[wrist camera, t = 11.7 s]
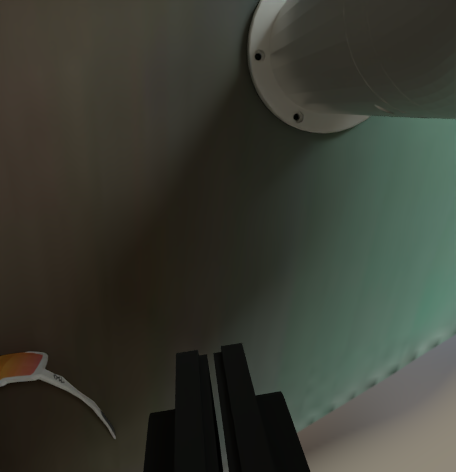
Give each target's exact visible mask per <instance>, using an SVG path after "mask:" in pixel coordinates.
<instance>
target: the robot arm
mask: <svg viewBox="0 0 456 472" xmlns="http://www.w3.org/2000/svg"><path fill="white" fill-rule="evenodd" d="M255 54H259V55H260V57H261V58H260V60H259V61H258V60H256V59H255ZM247 58H248V66H249V71H250V75H251V79H252V82H253V84H254V87H255V89H256V91H257V94H258V95H259V97H260V98H261V100H262V101H263V103H264V104H265V106H266V107H267V108H268V109H269V110H270V111H271V112H272V113H273V114H274V115H275V116H276V117H277V118H279V119H280V120H282V121H283V122H285V123H286V124H288V125H290V126H292V127H295V128H297V129H300V130H303V131H308V132H313V133H332V132H340V131H343V130H346V129H349V128H352V127H354V126H356V125H358V124H360V123H361V122H363V121H365V120H367V119H368V118H369V117H370V116H389V117H410V118H441V119H456V0H260V2H259V4H258V6H257V8H256V10H255V11H254V15H253V18H252V21H251V24H250V27H249V34H248V42H247ZM295 114H297V115H298V119H297V120H294V118H293V116H294V115H295ZM213 354H214V361H215V369H216V376H217V384H218V392H219V399H220V407H221V414H222V422H223V429H224V437H225V445H226V452H227V460H228V467H229V472H310V469H309V467H308V464H307V461H306V458H305V455H304V453H303V450H302V447H301V444H300V441H299V438H298V436H297V433H296V430H295V427H294V424H293V421H292V419H291V416H290V413H289V410H288V407H287V404H286V402H285V399H284V396H283V394H282V392H281V391H280V392H274V393H268V394H262V395H256V396H255V392H254V388H253V384H252V381H251V377H250V373H249V369H248V365H247V361H246V357H245V353H244V350H243V346H242V343H238V344H232V345H226V346H221V352H219V353H213ZM143 472H223V466H222V458H221V449H220V441H219V434H218V427H217V421H216V414H215V407H214V400H213V393H212V387H211V380H210V373H209V366H208V359H207V354H206V355H200V356H199V354H198V350H194V351H188V352H182V353H177V354H176V394H175V409H173V410H167V411H161V412H155V413H151V414H150V416H149V422H148V432H147V441H146V451H145V461H144V471H143Z"/></svg>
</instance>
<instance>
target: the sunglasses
mask: <svg viewBox="0 0 456 472" xmlns="http://www.w3.org/2000/svg"><path fill="white" fill-rule="evenodd" d="M47 362H48V355H47V354H46V353H44V352H32V351H28V352H24V353H13V354H7V355H2V356H0V387H1V386H4V385H6V384H7V383H13V382H22V381H35V380H37V379H39V380H42V381H45V382H47V383H49V384H52V385H54V386H57V387H59V388H61V389H64V390H66V391H68V392H69V393H71V394H73V395H75V396H76V397H78V398H80V399H81V400H83V401H84V402H85V403H86V404H87V405H89V406H90V407H91V408H92V409H93V410H94V412H95V413H96V414H97V415H98V416H99V418H100V419H101V420H102V421H103V422H104V424H105V425H106V426H107V428H108V429H109V431H110V433H111V435H112V437H113V438H114V439H116V435H115V431H114V429H113V426H112V425H111V423H110V421H109V420H108V419H107V417H106V416H105V415H104V413H103V412H102V411H101V410H100V408H99V407H98V406H97V405H96V403H95V402H94V401H93V400H91V399H90V398H88V397H87V396H85V395H84V394H83V393H81V392H80V391H78V390H77V389H76V388H75V387H73V386H72V385H71V384H70V383H69V382H68V381H66V380H65V379H64V378H63V377H62V376H59V375H57V374H54V373H52V372H50V371H48V370H46V369H45V367H46V365H47Z"/></svg>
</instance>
